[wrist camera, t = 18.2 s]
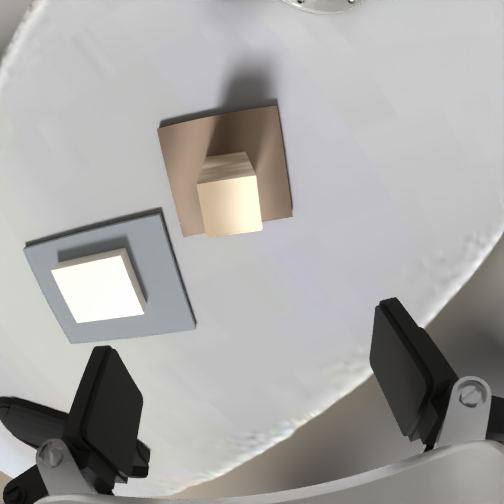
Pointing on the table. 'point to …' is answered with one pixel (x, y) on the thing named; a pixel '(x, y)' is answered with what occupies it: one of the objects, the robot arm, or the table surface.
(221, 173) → the block
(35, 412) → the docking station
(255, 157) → the plate
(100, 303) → the tile
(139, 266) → the mat
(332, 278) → the table surface
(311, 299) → the table surface
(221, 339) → the table surface
